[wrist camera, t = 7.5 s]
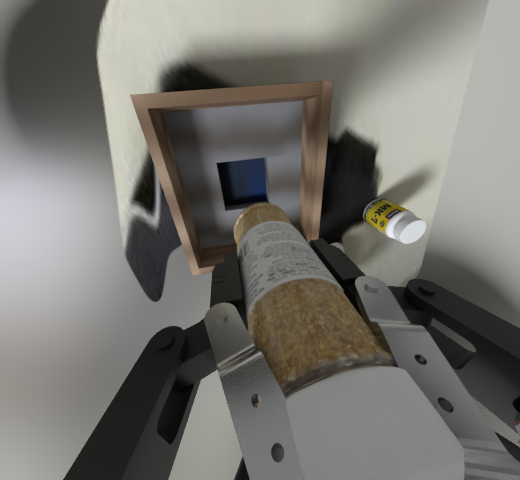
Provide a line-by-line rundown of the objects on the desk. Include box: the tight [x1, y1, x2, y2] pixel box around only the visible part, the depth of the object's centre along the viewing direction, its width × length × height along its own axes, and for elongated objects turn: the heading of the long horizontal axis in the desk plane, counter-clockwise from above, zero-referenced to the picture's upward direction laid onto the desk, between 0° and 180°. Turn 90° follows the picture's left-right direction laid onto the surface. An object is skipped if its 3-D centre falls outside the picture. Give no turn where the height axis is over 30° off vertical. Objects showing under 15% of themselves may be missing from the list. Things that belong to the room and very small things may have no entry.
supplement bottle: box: [363, 198, 426, 244], centre depth 31 cm, size 5×5×8 cm
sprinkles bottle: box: [234, 203, 465, 480], centre depth 9 cm, size 5×5×13 cm
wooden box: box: [130, 80, 333, 276], centre depth 25 cm, size 20×18×7 cm
